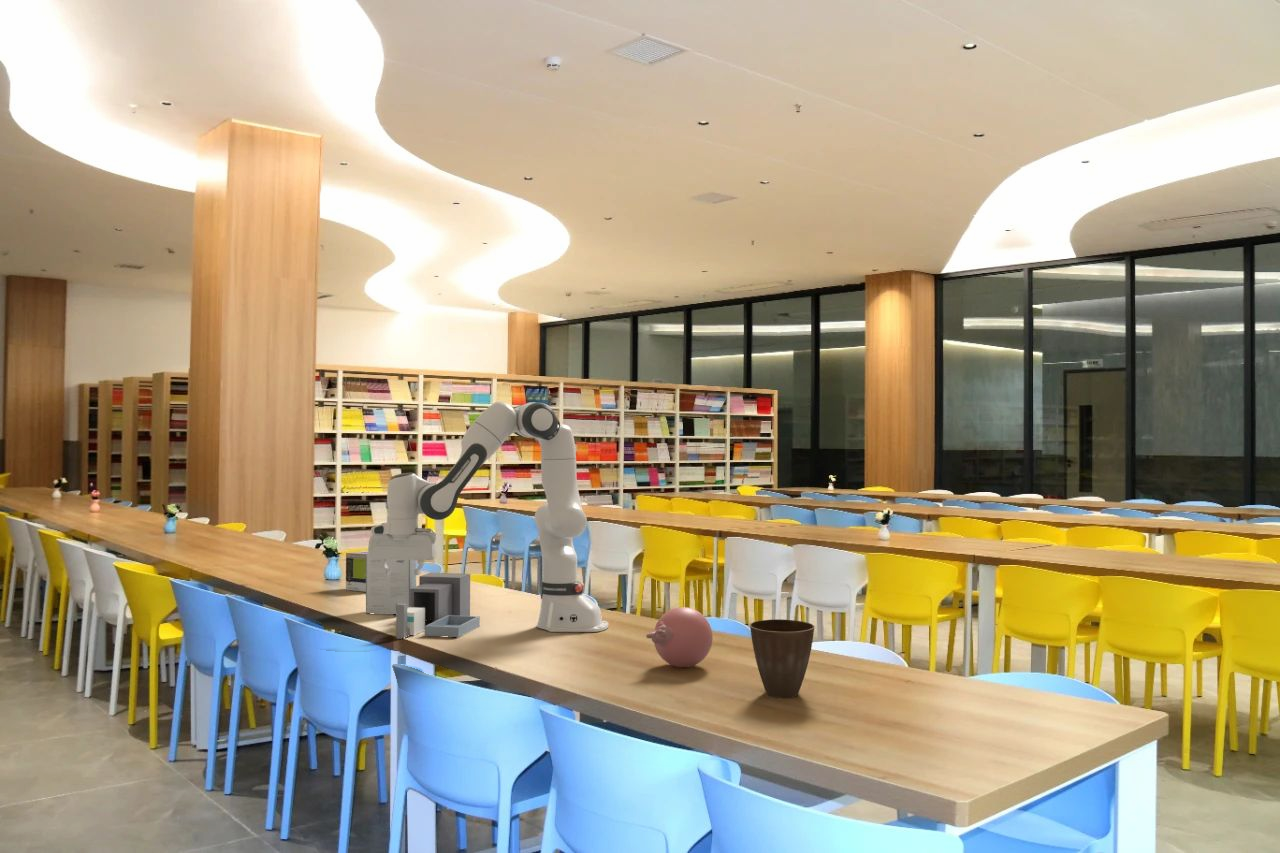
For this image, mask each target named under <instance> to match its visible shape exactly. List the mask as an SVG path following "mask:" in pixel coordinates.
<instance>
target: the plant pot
mask: <svg viewBox="0 0 1280 853" xmlns="http://www.w3.org/2000/svg"><path fill="white" fill-rule="evenodd" d="M749 628H750V637H751V641H752V642H751V643H752V648H753V653H754V657H755V658H754V659H755V662H756V666H757V669H758V673H759V676H760V679H761V683H762V685H763V688H764V691H765V693H766V695H768V696H771V697H774V698H784V699H785V698H794V697H797V696H798V695H799V692H800V690H801V687H802V685H803V682H804V679H805V676H806V671H807V669H808V665H809V661H810V657H811V651H812V646H813V640H814V635H815V633H814V632H815V625H813V624H812V623H811V622H807V621H802V620H793V619H779V618H778V619H775V618H774V619H763V620H761V619H760V620H756V621H753V622H751V623H750V624H749Z"/></svg>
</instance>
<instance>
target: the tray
mask: <svg viewBox="0 0 1280 853" xmlns="http://www.w3.org/2000/svg"><path fill="white" fill-rule="evenodd" d="M480 618H481V617H480V615H479V616H478V615H477V616H476V615H475V616H474V615H470V616H454V615H447V616H445V617H443V618H441V619H439V620H437V621H432V622H431V623H428V624H427V625H426V624H425V631H424V637H425V636H448V637H459V638H461V637H463V636H464V635H463V634H465V633H467V632H468V633H470V632H472V631H474V630H475V628H476V629H477V627H478V626H479V627H480V626H481V624H480V623H481V619H480ZM479 627H478V628H479ZM473 629H474V630H473ZM471 630H472V631H471ZM469 631H470V632H469ZM468 633H467V634H468ZM462 635H463V636H462ZM465 635H466V634H465ZM460 636H461V637H460Z"/></svg>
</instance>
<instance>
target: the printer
mask: <svg viewBox="0 0 1280 853" xmlns="http://www.w3.org/2000/svg"><path fill="white" fill-rule="evenodd" d="M418 578H419V579H418V580H419V581H418V583H419V585H416V587H413V588H410V607H419V608H425V621H426V620H428V621H431V620H435V621H437V620H439V619H441V618H443V617H445V616H447V615H454V616H471V573H453V572H428V573H426V574H421V575H418ZM435 621H434V622H435ZM426 622H427V621H426Z"/></svg>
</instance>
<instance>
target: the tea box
mask: <svg viewBox="0 0 1280 853" xmlns="http://www.w3.org/2000/svg"><path fill="white" fill-rule="evenodd" d="M366 555H368V550H360V551H352V552H351V551H350V552H345V590H347V591H353V592H354V591H356V592H363V593H364V592H365V593H366Z"/></svg>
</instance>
